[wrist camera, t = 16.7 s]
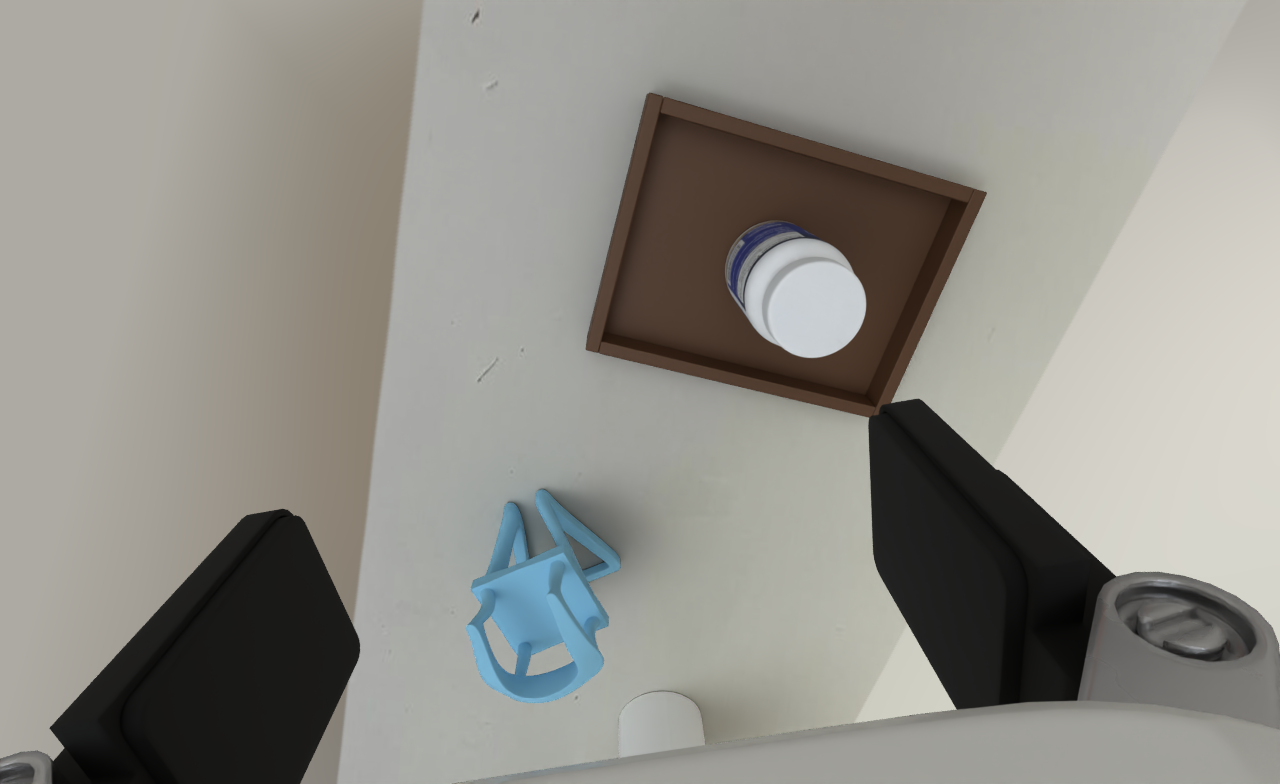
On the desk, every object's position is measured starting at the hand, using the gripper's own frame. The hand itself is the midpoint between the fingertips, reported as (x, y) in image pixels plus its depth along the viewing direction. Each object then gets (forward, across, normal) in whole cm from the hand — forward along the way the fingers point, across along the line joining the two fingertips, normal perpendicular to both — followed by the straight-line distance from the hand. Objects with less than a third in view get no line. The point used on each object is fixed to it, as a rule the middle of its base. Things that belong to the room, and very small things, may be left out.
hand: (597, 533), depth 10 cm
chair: (+31, +9, +21) cm, 38 cm away
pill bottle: (+30, -9, +4) cm, 32 cm away
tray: (+30, -9, +4) cm, 32 cm away
